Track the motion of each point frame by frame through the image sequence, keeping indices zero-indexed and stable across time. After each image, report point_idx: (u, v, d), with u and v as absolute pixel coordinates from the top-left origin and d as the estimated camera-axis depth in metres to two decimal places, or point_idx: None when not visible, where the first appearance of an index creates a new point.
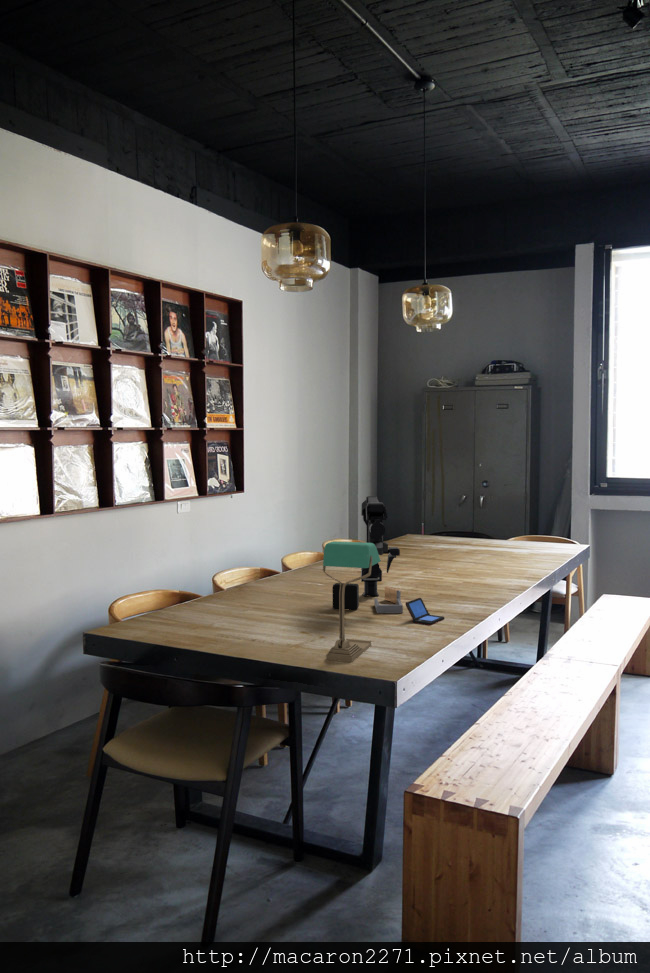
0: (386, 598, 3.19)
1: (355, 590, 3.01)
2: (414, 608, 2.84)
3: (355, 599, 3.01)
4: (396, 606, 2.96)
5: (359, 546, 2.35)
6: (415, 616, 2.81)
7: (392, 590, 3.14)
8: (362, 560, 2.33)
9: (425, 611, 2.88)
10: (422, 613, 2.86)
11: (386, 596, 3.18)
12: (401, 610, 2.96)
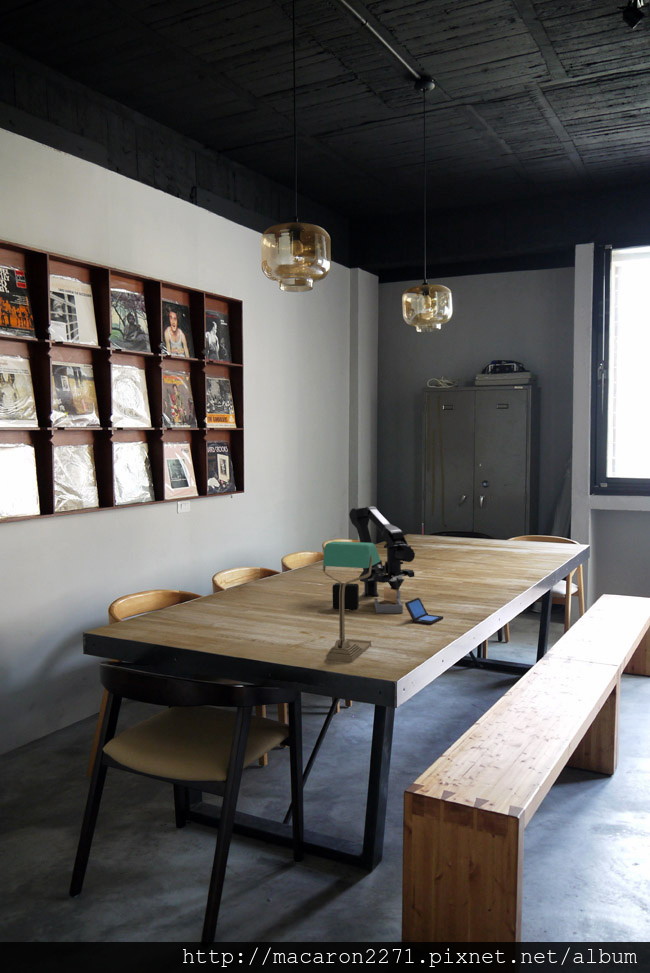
0: (385, 598, 3.18)
1: (355, 590, 3.01)
2: (413, 608, 2.84)
3: (355, 599, 3.01)
4: (396, 606, 2.96)
5: (359, 546, 2.35)
6: (414, 616, 2.81)
7: (392, 590, 3.14)
8: (362, 560, 2.33)
9: (424, 611, 2.88)
10: (421, 613, 2.86)
11: (386, 596, 3.18)
12: (401, 610, 2.96)
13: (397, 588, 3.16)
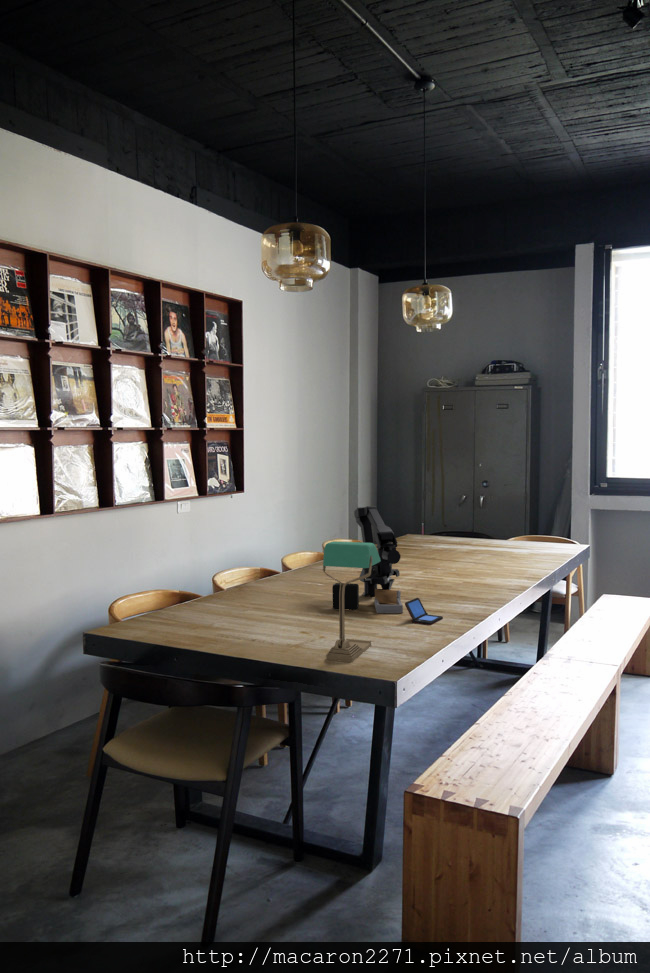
0: (378, 600, 3.14)
1: (355, 590, 3.01)
2: (413, 607, 2.84)
3: (355, 599, 3.01)
4: (396, 606, 2.96)
5: (359, 546, 2.35)
6: (414, 616, 2.81)
7: (389, 591, 3.12)
8: (362, 560, 2.33)
9: (423, 611, 2.88)
10: (420, 613, 2.86)
11: (378, 598, 3.14)
12: (401, 610, 2.96)
13: (389, 588, 3.15)
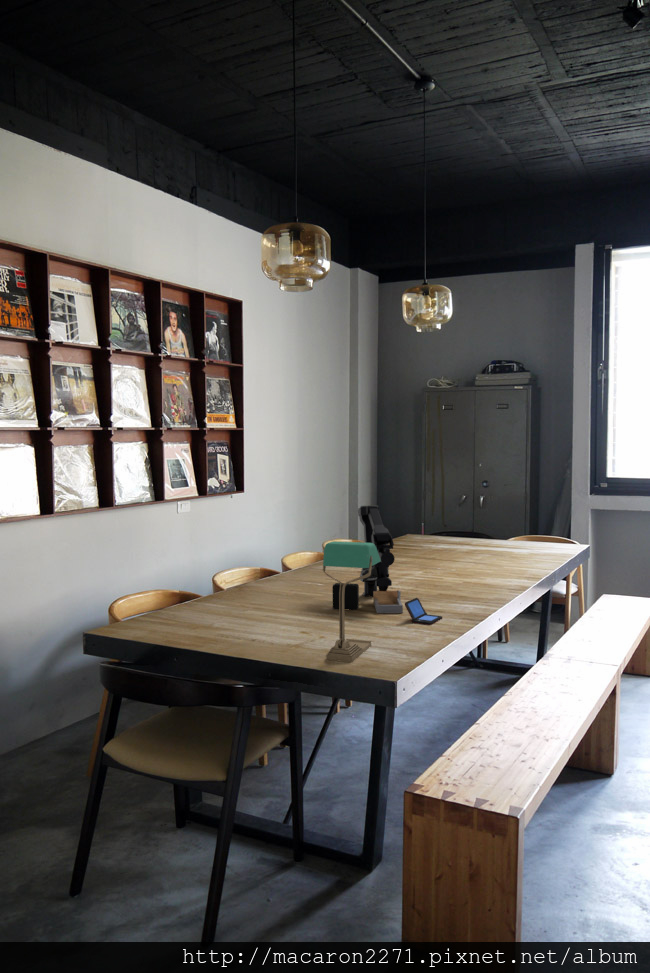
0: None
1: (355, 590, 3.01)
2: (413, 608, 2.84)
3: (355, 599, 3.01)
4: (396, 606, 2.96)
5: (359, 546, 2.35)
6: (414, 616, 2.81)
7: (389, 592, 3.10)
8: (362, 560, 2.33)
9: (422, 611, 2.88)
10: (420, 613, 2.86)
11: (378, 600, 3.10)
12: (401, 610, 2.96)
13: None
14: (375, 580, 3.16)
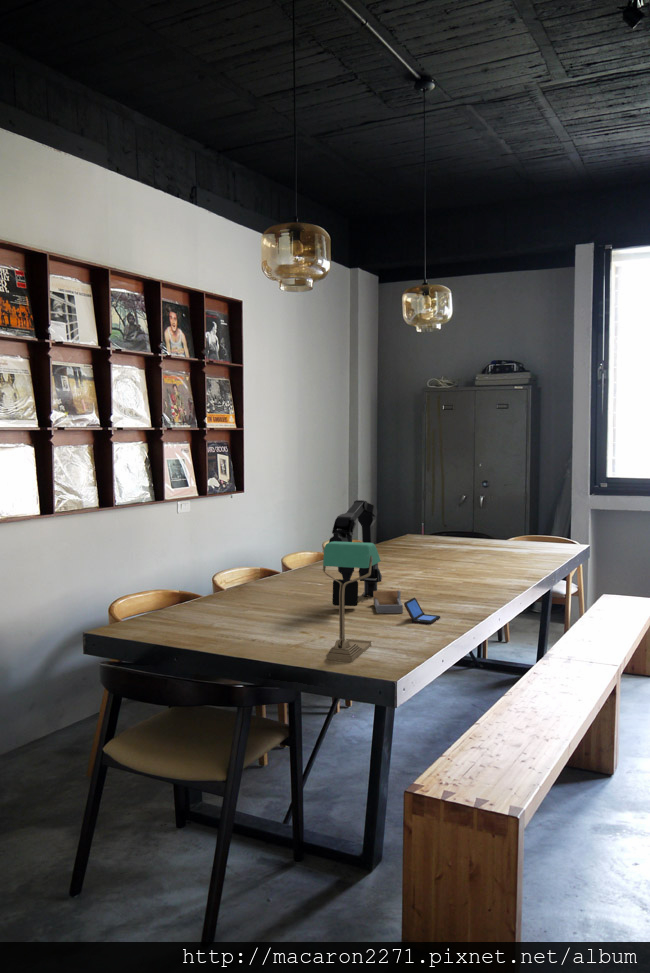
0: None
1: (356, 586, 3.01)
2: (411, 607, 2.84)
3: (356, 595, 3.01)
4: (396, 606, 2.96)
5: (359, 546, 2.35)
6: (413, 616, 2.81)
7: (389, 592, 3.10)
8: (362, 560, 2.33)
9: (420, 611, 2.89)
10: (418, 613, 2.86)
11: (378, 600, 3.10)
12: (401, 610, 2.96)
13: None
14: None
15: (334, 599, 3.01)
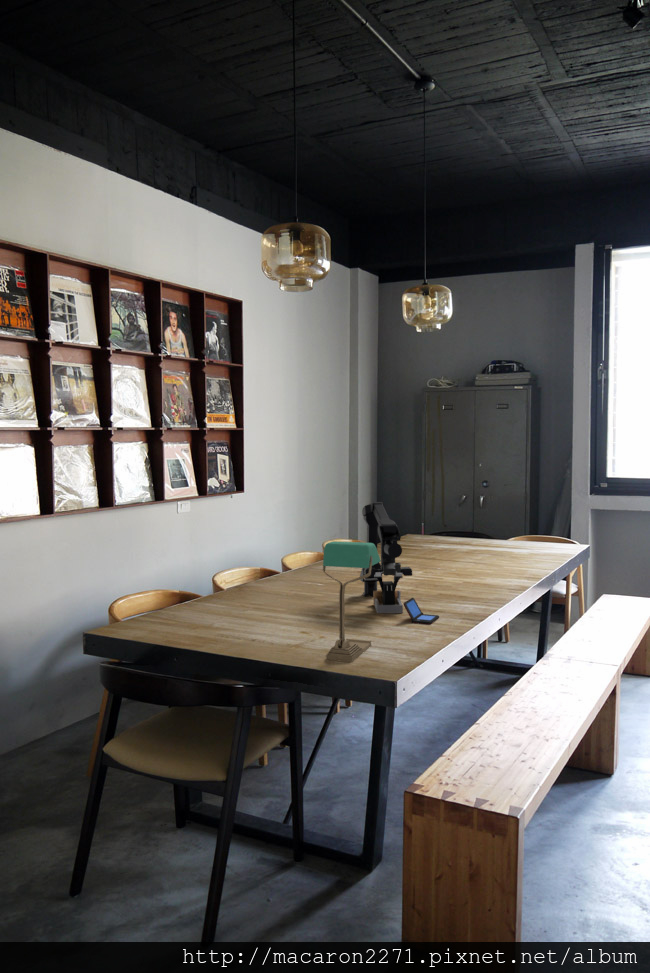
0: None
1: None
2: (411, 608, 2.84)
3: None
4: (396, 606, 2.96)
5: (359, 546, 2.35)
6: (413, 616, 2.81)
7: None
8: (362, 560, 2.33)
9: (419, 611, 2.89)
10: (417, 613, 2.86)
11: (378, 600, 3.10)
12: (401, 610, 2.96)
13: None
14: (375, 576, 3.00)
15: None
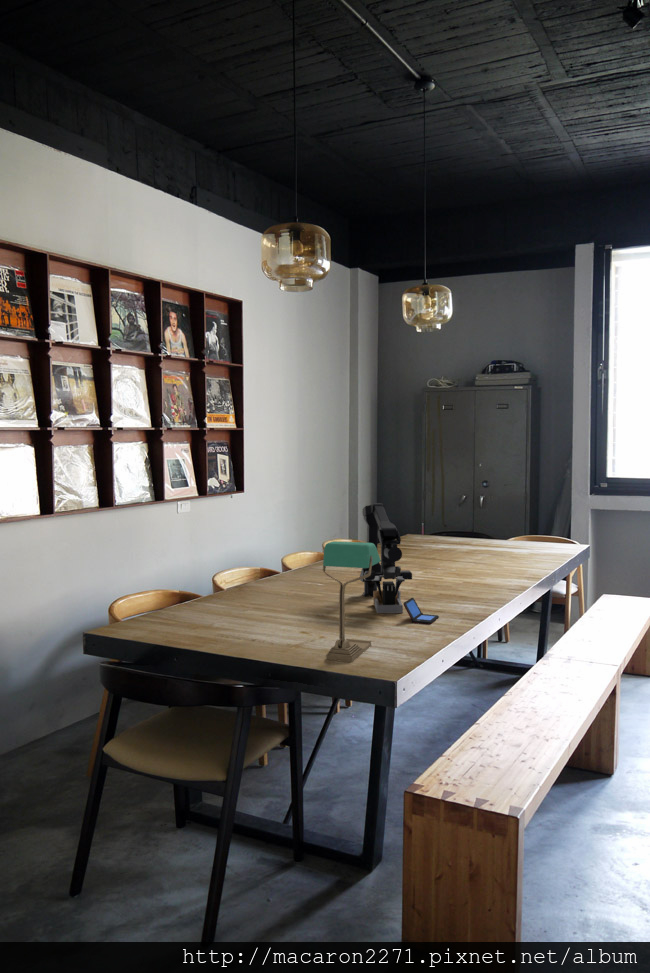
0: None
1: None
2: (410, 608, 2.84)
3: None
4: (396, 606, 2.96)
5: (359, 546, 2.35)
6: (413, 616, 2.81)
7: None
8: (362, 560, 2.33)
9: (419, 611, 2.89)
10: (417, 613, 2.86)
11: (378, 600, 3.10)
12: (401, 610, 2.96)
13: None
14: (372, 580, 3.00)
15: None
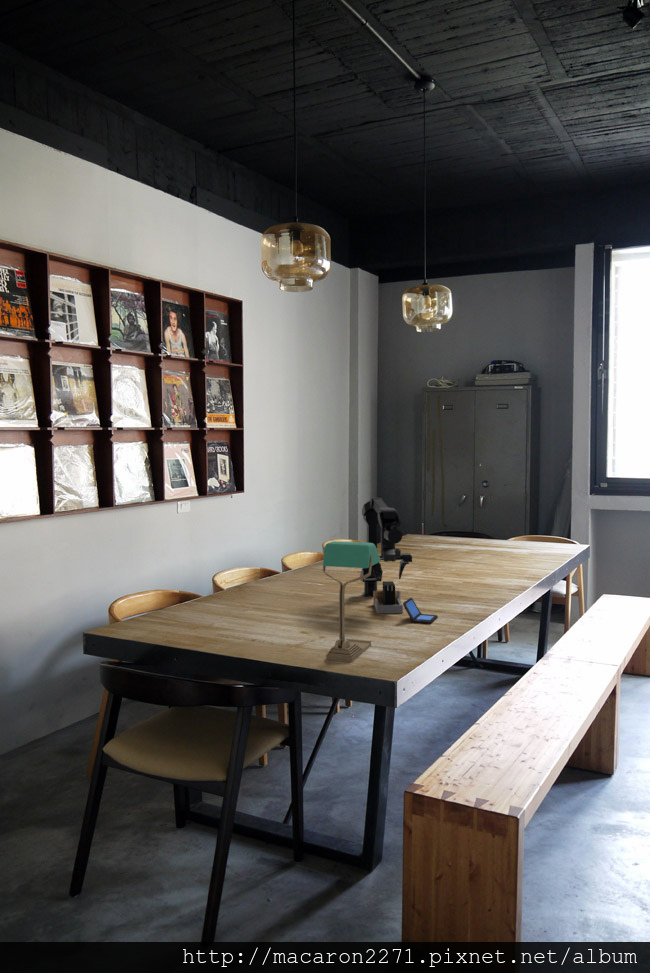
0: None
1: None
2: (410, 608, 2.84)
3: None
4: (396, 606, 2.96)
5: (359, 546, 2.35)
6: (412, 616, 2.81)
7: None
8: (362, 560, 2.33)
9: (417, 610, 2.89)
10: (416, 613, 2.86)
11: (378, 600, 3.10)
12: (401, 610, 2.96)
13: None
14: None
15: None
